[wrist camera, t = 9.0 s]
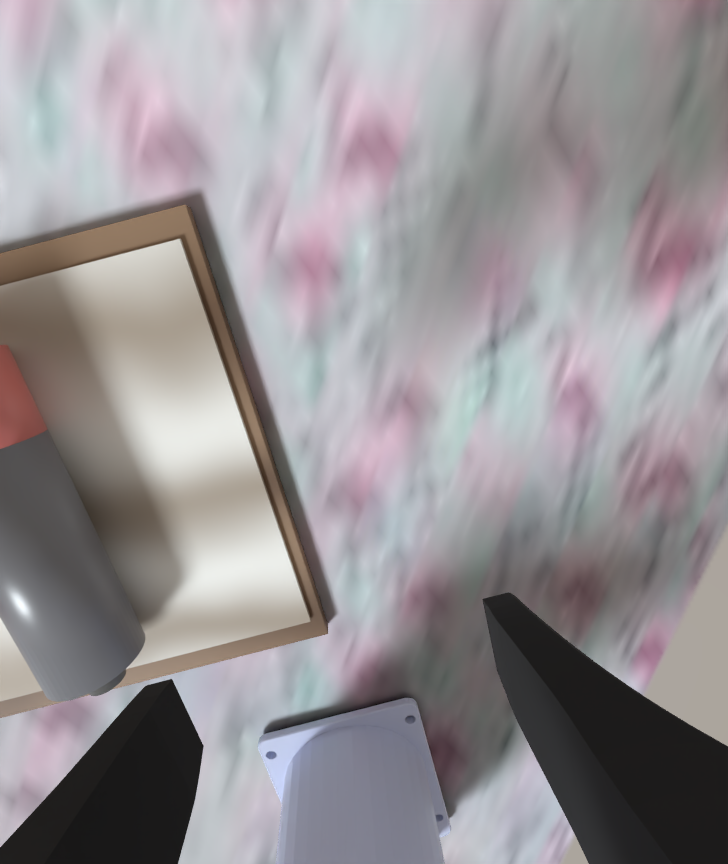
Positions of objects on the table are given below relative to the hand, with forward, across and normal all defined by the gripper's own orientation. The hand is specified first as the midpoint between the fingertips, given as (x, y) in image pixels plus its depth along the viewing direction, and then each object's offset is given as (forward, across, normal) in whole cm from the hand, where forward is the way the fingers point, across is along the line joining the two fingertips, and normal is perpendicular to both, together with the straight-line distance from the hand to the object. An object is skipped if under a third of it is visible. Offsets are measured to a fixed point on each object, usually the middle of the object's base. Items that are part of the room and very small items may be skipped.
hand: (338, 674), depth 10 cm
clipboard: (+9, +12, -3) cm, 16 cm away
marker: (+8, +12, -3) cm, 15 cm away
